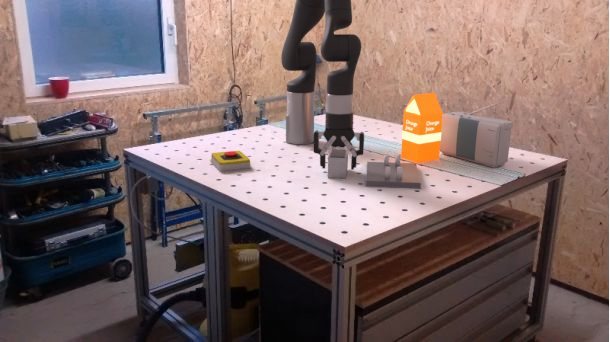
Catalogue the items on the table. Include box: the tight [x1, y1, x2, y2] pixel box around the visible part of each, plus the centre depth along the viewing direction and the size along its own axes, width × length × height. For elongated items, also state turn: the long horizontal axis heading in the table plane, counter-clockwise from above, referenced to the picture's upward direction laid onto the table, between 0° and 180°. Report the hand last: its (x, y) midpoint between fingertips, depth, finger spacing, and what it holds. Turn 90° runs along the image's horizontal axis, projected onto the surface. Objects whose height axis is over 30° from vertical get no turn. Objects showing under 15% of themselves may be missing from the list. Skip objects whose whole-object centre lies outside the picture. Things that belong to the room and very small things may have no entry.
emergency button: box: [209, 150, 253, 174], centre depth 163 cm, size 9×4×15 cm
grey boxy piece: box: [327, 148, 349, 180], centre depth 154 cm, size 5×9×6 cm, turn 173°
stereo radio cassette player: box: [440, 97, 514, 169], centre depth 167 cm, size 21×8×20 cm, turn 37°
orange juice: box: [400, 92, 444, 164], centre depth 168 cm, size 8×9×20 cm
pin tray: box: [365, 154, 422, 189], centre depth 152 cm, size 14×18×4 cm
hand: (338, 168), depth 155 cm, fingers open, 7 cm apart
